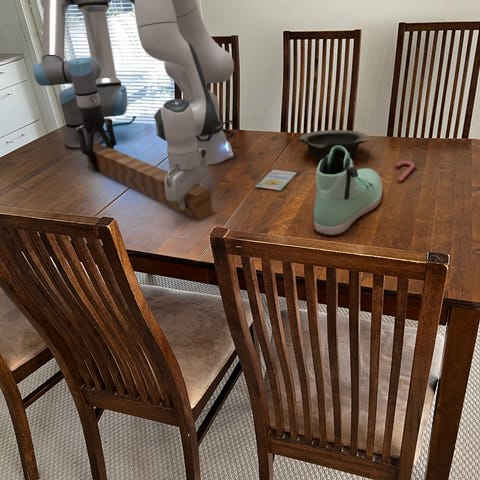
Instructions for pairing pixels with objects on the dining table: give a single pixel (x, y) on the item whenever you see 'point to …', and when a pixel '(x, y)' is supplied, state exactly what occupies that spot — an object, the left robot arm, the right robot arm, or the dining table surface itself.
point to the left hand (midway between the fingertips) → (104, 168)
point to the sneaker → (343, 192)
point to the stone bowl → (333, 142)
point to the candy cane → (406, 170)
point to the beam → (149, 180)
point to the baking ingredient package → (276, 179)
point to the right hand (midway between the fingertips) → (190, 202)
